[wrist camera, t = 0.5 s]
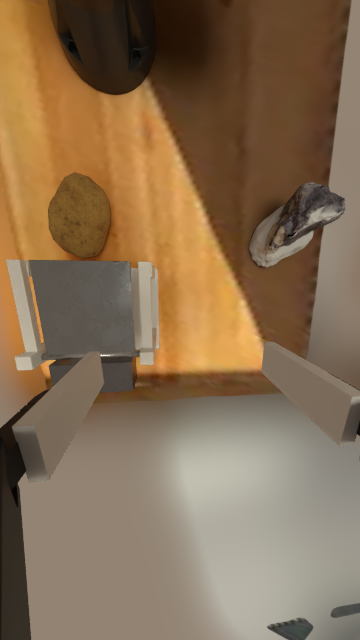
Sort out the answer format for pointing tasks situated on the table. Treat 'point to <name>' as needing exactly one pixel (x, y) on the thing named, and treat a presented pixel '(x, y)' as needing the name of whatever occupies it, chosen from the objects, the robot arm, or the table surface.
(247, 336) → the table surface
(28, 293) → the frame
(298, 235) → the stone
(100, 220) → the potato
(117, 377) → the flap
